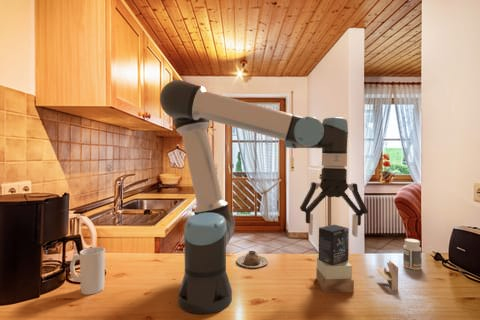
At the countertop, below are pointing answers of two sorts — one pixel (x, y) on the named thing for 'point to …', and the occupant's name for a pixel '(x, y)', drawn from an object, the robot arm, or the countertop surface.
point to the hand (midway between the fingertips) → (332, 234)
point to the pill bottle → (412, 254)
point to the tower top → (335, 270)
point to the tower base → (334, 284)
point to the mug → (90, 269)
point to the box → (333, 244)
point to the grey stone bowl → (252, 260)
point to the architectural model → (391, 275)
